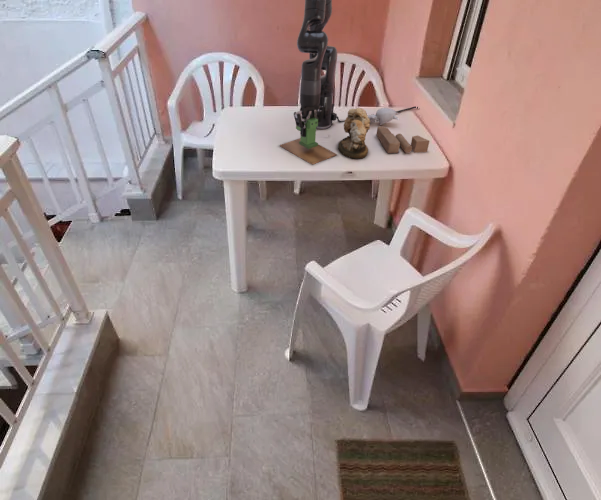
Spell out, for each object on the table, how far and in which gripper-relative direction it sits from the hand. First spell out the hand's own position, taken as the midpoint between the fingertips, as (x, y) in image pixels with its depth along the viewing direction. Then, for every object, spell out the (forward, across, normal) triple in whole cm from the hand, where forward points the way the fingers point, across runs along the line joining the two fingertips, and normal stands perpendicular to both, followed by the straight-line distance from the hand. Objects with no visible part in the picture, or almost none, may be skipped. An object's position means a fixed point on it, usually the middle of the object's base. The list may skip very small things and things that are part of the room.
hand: (308, 134), depth 163 cm
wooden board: (+7, 0, 0) cm, 7 cm away
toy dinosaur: (+3, 0, +4) cm, 5 cm away
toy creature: (+7, +45, +1) cm, 45 cm away
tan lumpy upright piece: (+7, +16, -10) cm, 20 cm away
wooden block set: (+7, +36, -19) cm, 41 cm away
